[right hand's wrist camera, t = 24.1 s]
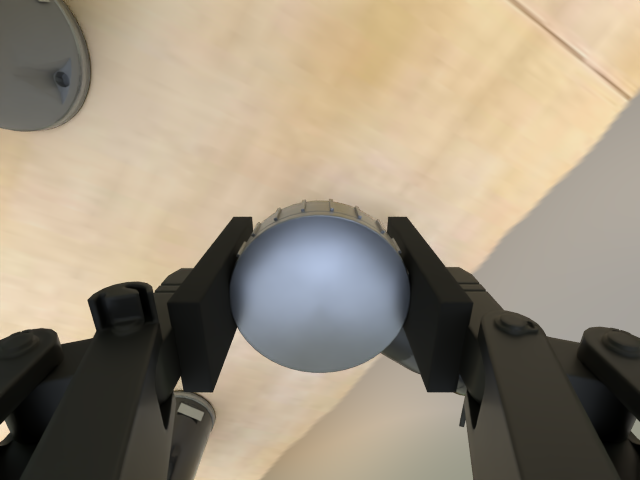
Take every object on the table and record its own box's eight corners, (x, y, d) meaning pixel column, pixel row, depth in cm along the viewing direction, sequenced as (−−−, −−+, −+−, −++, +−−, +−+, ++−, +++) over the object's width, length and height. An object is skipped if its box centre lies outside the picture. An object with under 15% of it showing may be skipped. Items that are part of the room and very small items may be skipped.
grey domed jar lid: (217, 213, 11) (201, 230, 10) (394, 183, 11) (405, 195, 9) (259, 354, 13) (251, 384, 12) (408, 332, 13) (420, 361, 11)
